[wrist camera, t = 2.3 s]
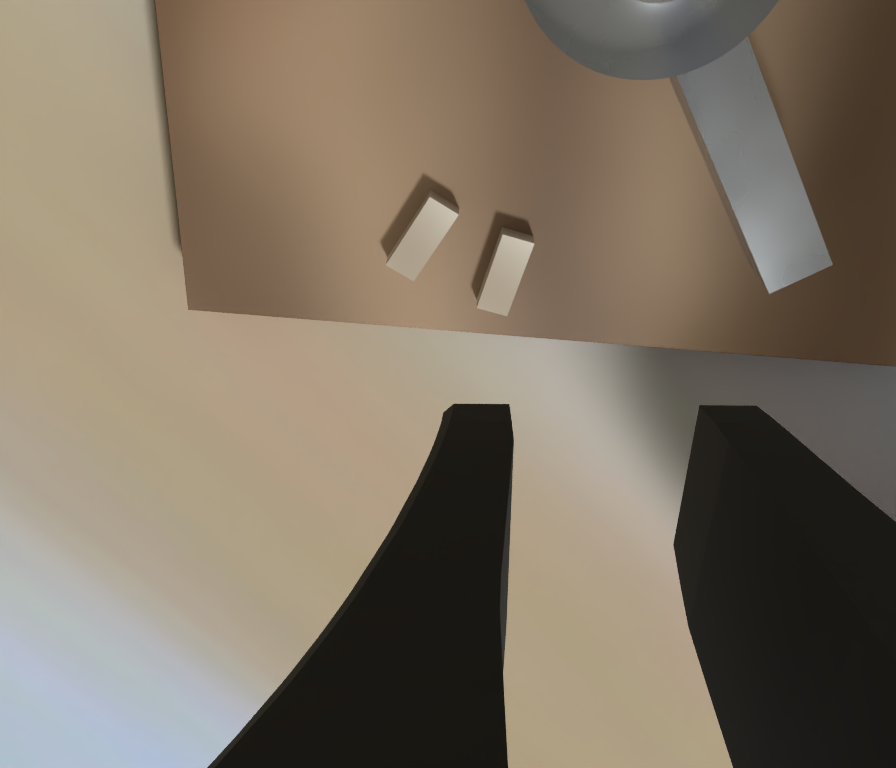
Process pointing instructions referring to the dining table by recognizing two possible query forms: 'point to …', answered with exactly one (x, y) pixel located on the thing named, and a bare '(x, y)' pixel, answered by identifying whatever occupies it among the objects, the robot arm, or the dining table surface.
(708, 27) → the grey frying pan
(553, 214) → the base board
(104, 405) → the dining table surface
